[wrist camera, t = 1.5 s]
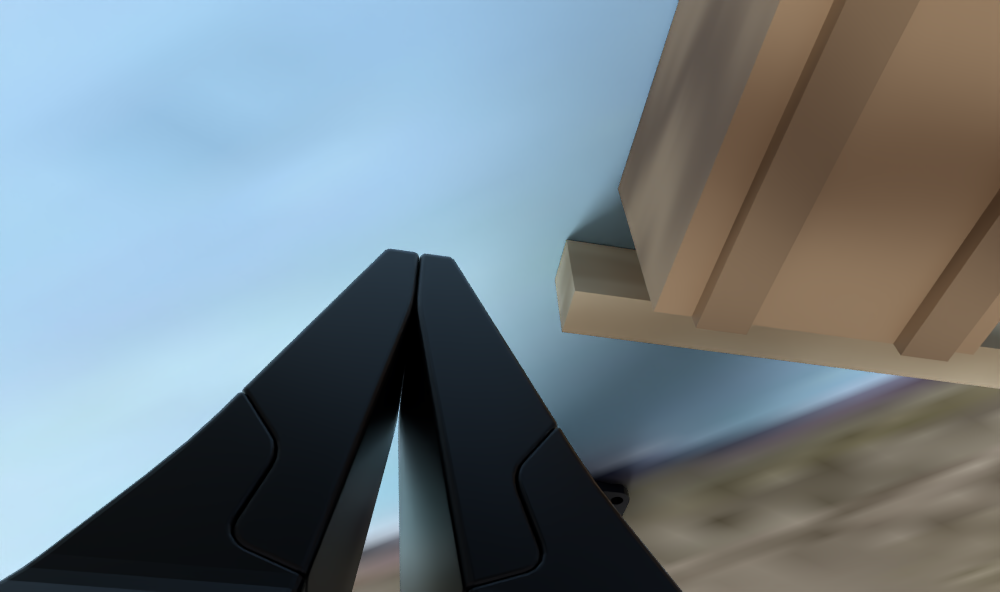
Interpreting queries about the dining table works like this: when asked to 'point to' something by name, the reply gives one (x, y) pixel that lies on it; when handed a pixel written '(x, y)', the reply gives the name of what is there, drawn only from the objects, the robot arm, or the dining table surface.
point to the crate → (824, 170)
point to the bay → (630, 316)
